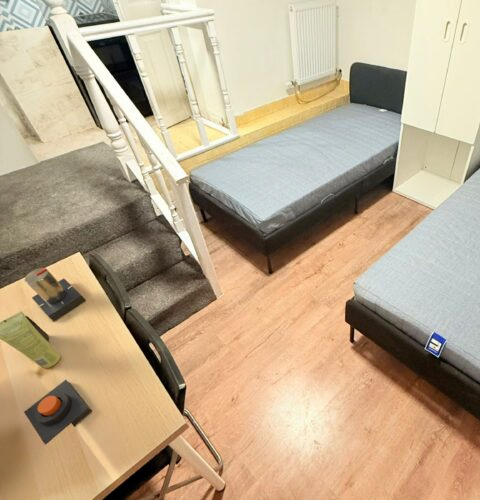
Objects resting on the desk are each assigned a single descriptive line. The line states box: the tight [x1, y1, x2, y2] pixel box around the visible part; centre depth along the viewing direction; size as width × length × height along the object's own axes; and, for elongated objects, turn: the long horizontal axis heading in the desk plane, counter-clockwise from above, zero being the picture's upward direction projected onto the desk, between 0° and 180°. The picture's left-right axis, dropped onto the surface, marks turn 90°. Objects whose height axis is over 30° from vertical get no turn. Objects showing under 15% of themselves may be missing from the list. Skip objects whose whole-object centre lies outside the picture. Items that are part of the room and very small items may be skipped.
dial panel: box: [31, 278, 86, 322], centre depth 107 cm, size 12×10×3 cm
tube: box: [0, 311, 61, 369], centre depth 87 cm, size 6×5×20 cm
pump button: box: [37, 396, 61, 416], centre depth 80 cm, size 4×4×2 cm
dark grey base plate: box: [23, 379, 93, 445], centre depth 82 cm, size 12×10×4 cm
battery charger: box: [25, 315, 49, 343], centre depth 93 cm, size 7×4×11 cm, turn 27°
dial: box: [24, 267, 67, 304], centre depth 102 cm, size 6×6×10 cm
